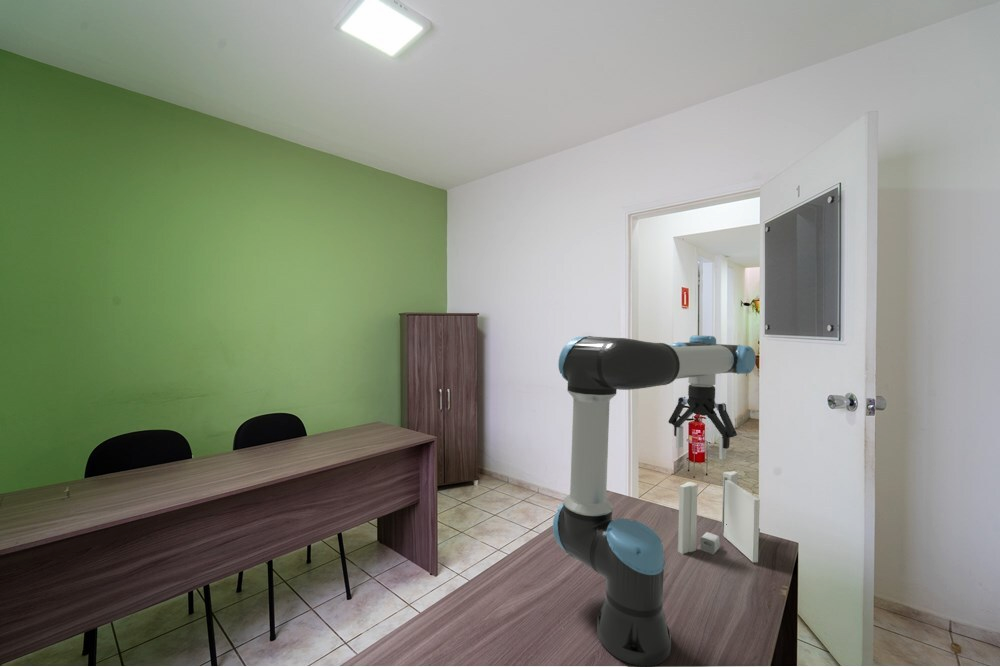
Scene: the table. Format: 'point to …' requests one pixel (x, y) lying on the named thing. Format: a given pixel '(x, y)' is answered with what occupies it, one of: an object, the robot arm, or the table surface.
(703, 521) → the table surface
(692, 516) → the door frame
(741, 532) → the door
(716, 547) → the usb wall charger
